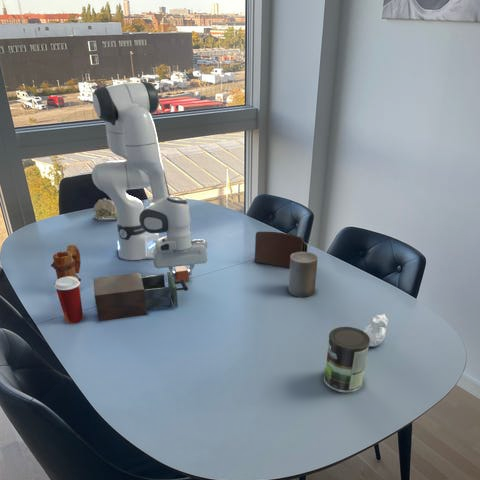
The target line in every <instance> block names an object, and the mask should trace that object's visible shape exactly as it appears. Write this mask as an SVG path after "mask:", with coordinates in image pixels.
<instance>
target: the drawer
mask: <svg viewBox="0 0 480 480" xmlns="http://www.w3.org/2000/svg"><path fill="white" fill-rule="evenodd" d="M166 275H167V286H166V280H165V274H163V273H161V274H153V275H145V276H141V279H142V283H143V287H144V293H145V301H146V310H147V311H151V310H157V309H163V308H170V307H171V302H172V305H173V308H174V309H178V308H179V302H178V291H184V292H187V291H188V290H189V287H188V285H187V282H185V280H181V281H180V282H177V281H175V280H174V277H172V273H171V271H169V272H166ZM179 284H180V285H181V287H177V285H179ZM170 299H171V300H170Z"/></svg>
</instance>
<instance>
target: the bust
mask: <svg viewBox="0 0 480 480" xmlns="http://www.w3.org/2000/svg"><path fill="white" fill-rule="evenodd" d="M369 322H370V323H371V324H368V325H367V326H366V327H365V328H364V329H363V331H364V332H365V333H366V334H367V335H368V336H369V337H370V344H369V347H372V348H373V347H377V346H379V345H381V344H382V343H383V342H384V340H385V338H386V332H387V327H388V325H389V319H388V318H387V316H386V314H385V313H382V314H377V315H375V316H374V317H372V318H369Z"/></svg>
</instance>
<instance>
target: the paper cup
mask: <svg viewBox="0 0 480 480" xmlns="http://www.w3.org/2000/svg"><path fill="white" fill-rule="evenodd" d="M54 283H55V284H54V289H55V290H56V293H57V296H58V300H59V304H60V306H61V307H60V308H61V311H62V313H63V317H64V320H65V322H66V323H67V324H77V323H80V322H81V321H83V319H84V311H83V304H82V296H81V288H80V285H81V281H80V282H79V281H78V279H77V278H76V277H72V276H67V277H62V278H60V279H56V281H55V282H54Z"/></svg>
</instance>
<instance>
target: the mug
mask: <svg viewBox="0 0 480 480" xmlns="http://www.w3.org/2000/svg"><path fill="white" fill-rule="evenodd" d="M52 259H53V262H52V263H51V264H50V267H52V268H53V269H54V270H55V275H56V278H57V279H56V280H58V279H60V278H62V277H67V276H72V277H76V278H77V279H78V281H79V282H80V283H81V281H82V278H80V277H79V276H78V275H77V274H80V270H81V262H82V261H81V253H80V250H79V248H78V247H77V246H76V245H75V244H68V245H67V247H66V250H64V251H58V252H57V253H54V254H53V256H52ZM53 284H54V285H55V282H54V283H53Z"/></svg>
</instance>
